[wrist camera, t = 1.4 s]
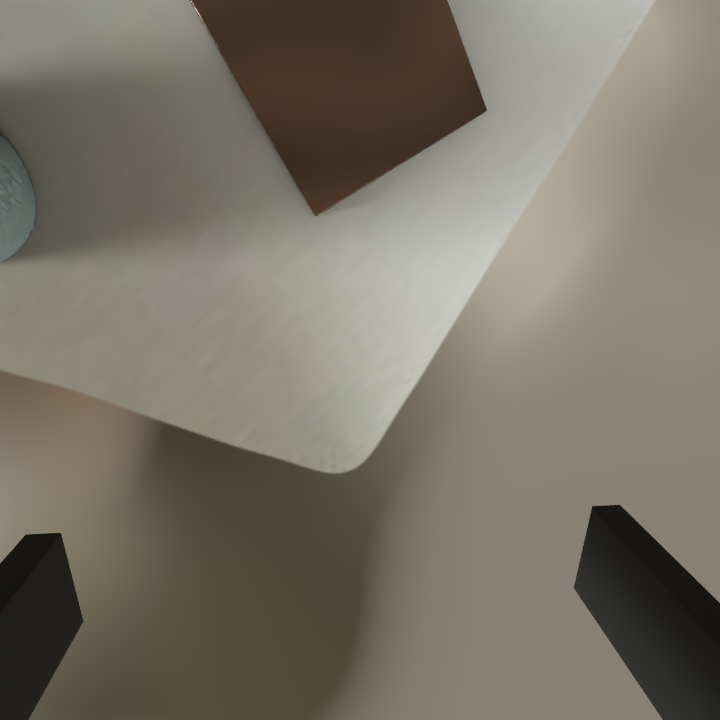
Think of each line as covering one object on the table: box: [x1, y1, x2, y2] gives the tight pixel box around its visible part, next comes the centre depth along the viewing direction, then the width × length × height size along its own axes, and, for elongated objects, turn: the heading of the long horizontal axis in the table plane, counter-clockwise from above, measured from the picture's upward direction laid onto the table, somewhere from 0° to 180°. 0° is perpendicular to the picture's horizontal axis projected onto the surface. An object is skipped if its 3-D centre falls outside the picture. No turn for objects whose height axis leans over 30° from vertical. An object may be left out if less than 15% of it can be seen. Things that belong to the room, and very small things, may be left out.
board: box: [190, 0, 487, 216], centre depth 23 cm, size 18×12×1 cm, turn 29°
